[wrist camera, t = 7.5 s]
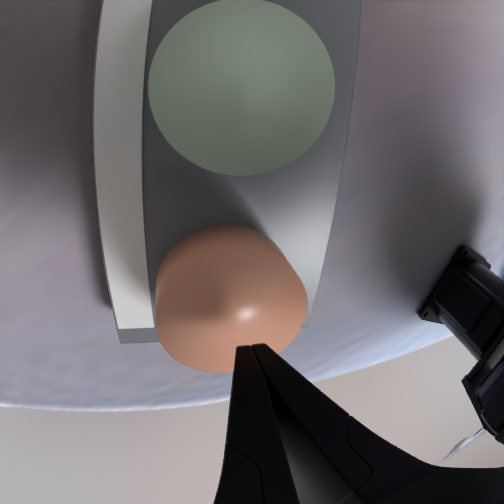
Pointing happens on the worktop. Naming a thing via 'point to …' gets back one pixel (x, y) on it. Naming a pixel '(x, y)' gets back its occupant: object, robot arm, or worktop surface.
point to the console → (193, 176)
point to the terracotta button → (226, 297)
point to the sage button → (241, 87)
